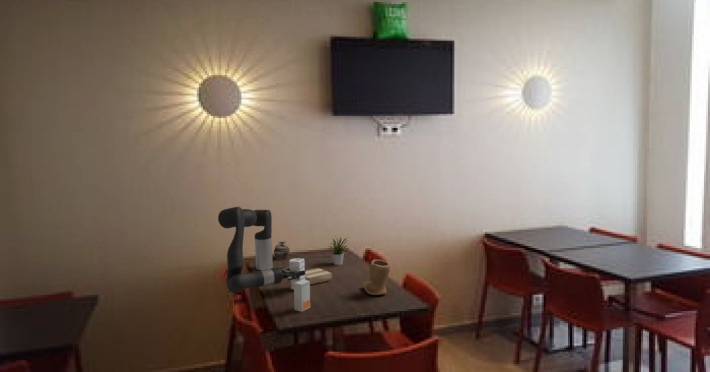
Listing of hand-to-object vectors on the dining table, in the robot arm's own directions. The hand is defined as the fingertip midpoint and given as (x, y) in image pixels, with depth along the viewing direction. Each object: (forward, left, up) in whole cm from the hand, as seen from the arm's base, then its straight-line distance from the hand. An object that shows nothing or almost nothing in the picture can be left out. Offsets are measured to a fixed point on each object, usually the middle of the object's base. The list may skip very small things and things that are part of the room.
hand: (300, 270), depth 238 cm
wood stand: (-6, +11, -8) cm, 15 cm away
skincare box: (+26, -14, -9) cm, 31 cm away
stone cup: (+28, +25, -9) cm, 39 cm away
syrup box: (0, -2, -9) cm, 9 cm away
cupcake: (-58, +19, -9) cm, 62 cm away
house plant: (-24, +39, -9) cm, 47 cm away
